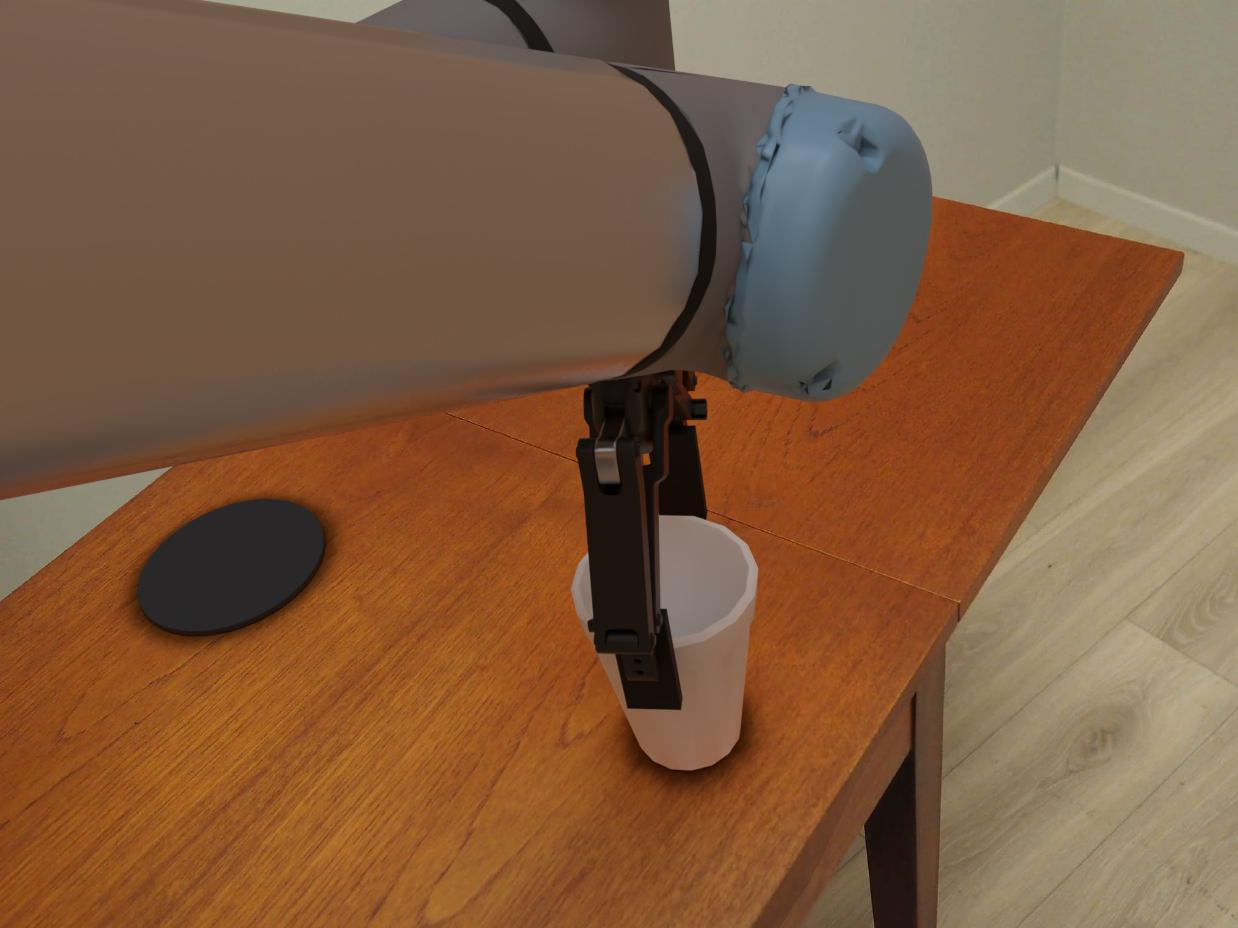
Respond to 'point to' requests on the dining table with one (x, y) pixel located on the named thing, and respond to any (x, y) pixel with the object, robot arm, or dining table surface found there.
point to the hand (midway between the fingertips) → (670, 603)
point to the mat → (231, 567)
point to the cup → (693, 641)
